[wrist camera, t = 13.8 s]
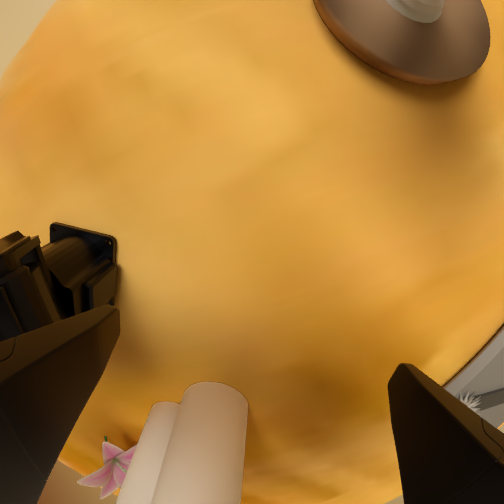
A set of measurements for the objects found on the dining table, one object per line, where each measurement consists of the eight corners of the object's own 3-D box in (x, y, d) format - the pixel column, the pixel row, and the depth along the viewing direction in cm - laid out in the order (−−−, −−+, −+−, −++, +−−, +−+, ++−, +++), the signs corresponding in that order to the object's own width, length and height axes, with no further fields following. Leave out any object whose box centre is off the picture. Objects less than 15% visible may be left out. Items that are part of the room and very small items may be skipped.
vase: (214, 370, 25) (168, 592, 6) (265, 411, 27) (258, 603, 8) (142, 410, 28) (84, 565, 9) (190, 443, 30) (157, 589, 11)
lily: (146, 465, 35) (162, 513, 26) (71, 454, 29) (75, 505, 21) (165, 412, 35) (186, 464, 26) (78, 396, 29) (79, 452, 20)
